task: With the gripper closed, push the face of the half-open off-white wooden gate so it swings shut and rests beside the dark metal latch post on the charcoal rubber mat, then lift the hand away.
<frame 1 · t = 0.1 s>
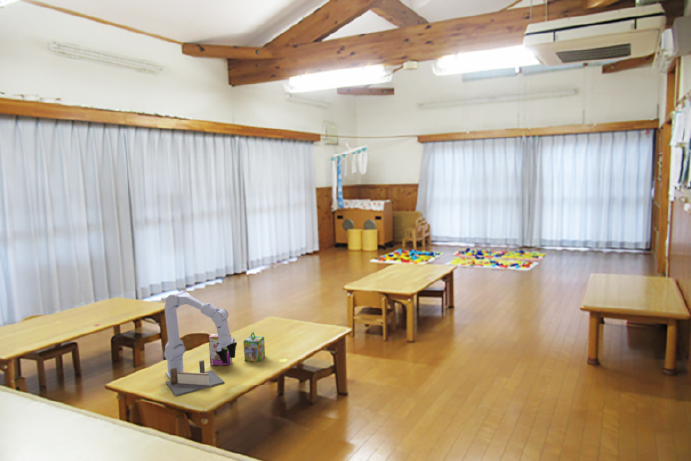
hand: (229, 360, 236), 10 cm above the table, tool pointing down, fingers open, 7 cm apart
gate: (193, 378, 231), point 4 cm above the table, hinge at 45.0°
gate posts: (174, 384, 234), resting on mat
candy bar box: (221, 364, 259), on the table
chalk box: (255, 359, 266), on the table
mat: (194, 383, 235), on the table
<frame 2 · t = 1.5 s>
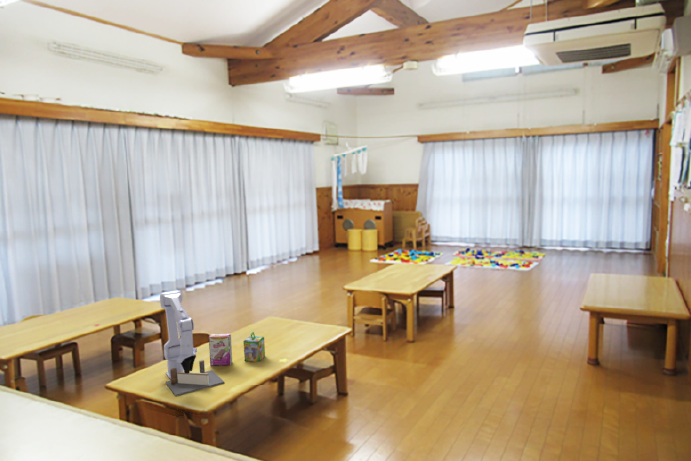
hand: (188, 371, 226), 9 cm above the table, tool pointing down, fingers closed
nothing on the table moved.
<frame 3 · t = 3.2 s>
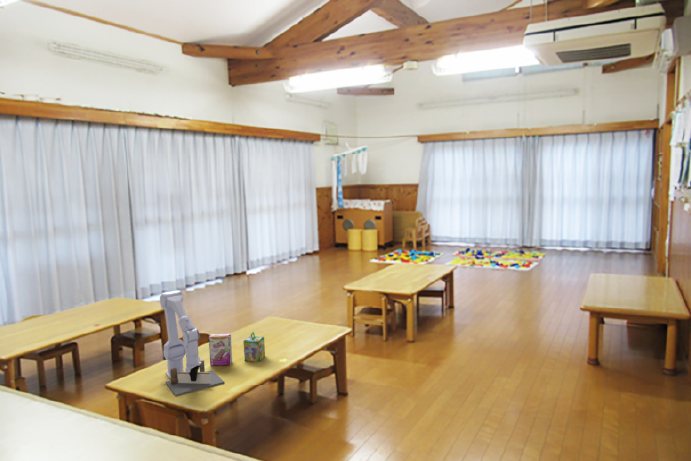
hand: (193, 381, 231), 3 cm above the table, tool pointing down, fingers closed
gate: (194, 377, 232), point 4 cm above the table, hinge at 39.7°, touching gripper
everything else where it was.
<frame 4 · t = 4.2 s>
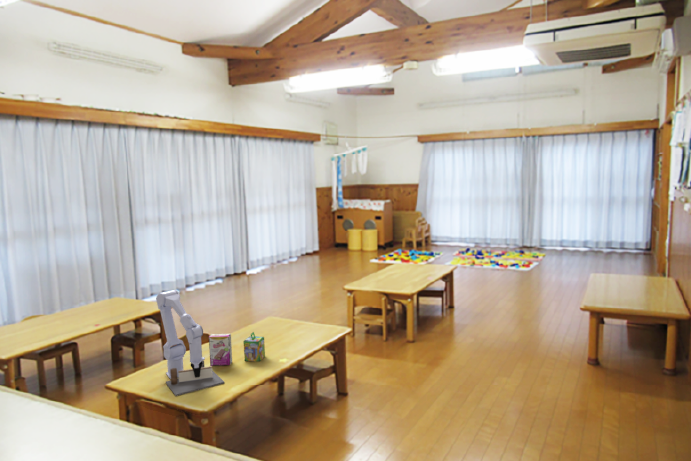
hand: (197, 376, 235), 3 cm above the table, tool pointing down, fingers closed
gate: (195, 374, 237), point 4 cm above the table, hinge at 15.5°, touching gripper
everything else where it was.
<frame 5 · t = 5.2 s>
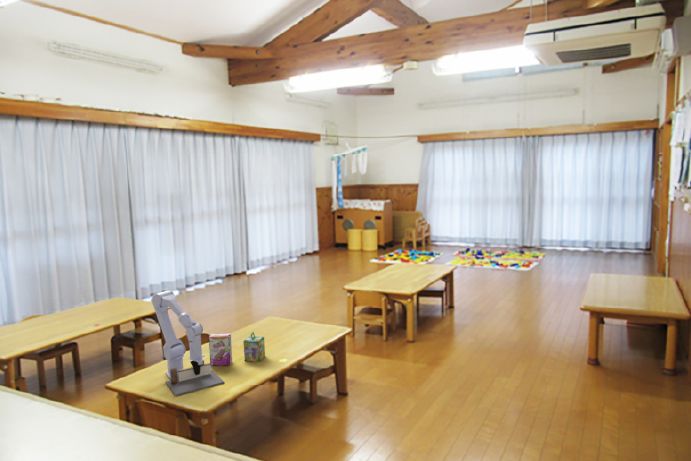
hand: (197, 374, 239), 3 cm above the table, tool pointing down, fingers closed
gate: (194, 372, 239), point 4 cm above the table, hinge at -0.7°, touching gripper
everything else where it was.
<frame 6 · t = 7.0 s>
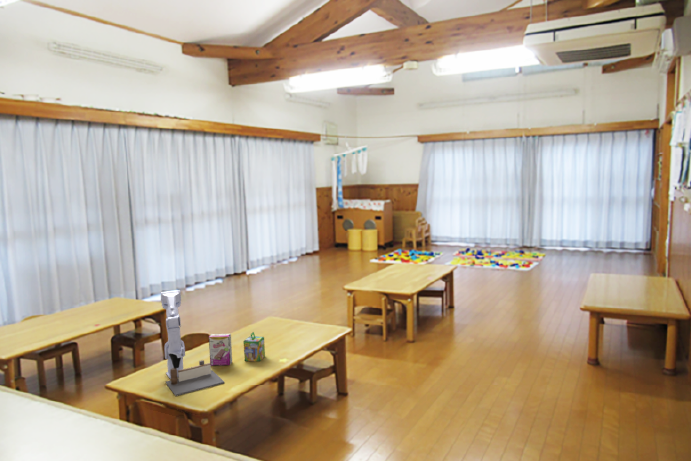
hand: (176, 367, 231), 9 cm above the table, tool pointing down, fingers closed
gate: (194, 372, 239), point 4 cm above the table, hinge at -0.7°
everything else where it was.
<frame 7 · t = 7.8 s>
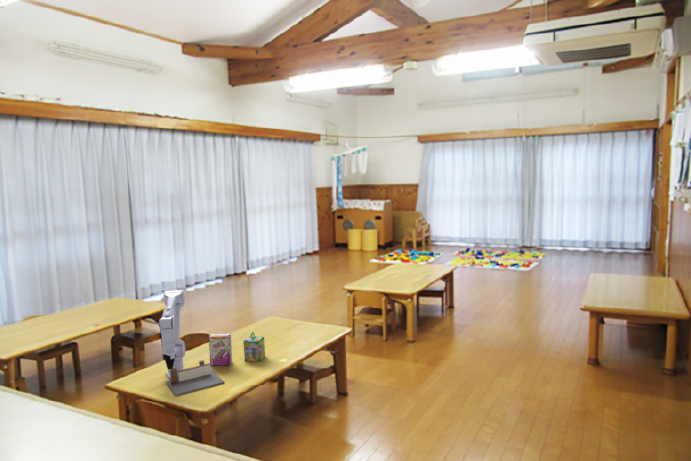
hand: (170, 368, 230), 9 cm above the table, tool pointing down, fingers closed
nothing on the table moved.
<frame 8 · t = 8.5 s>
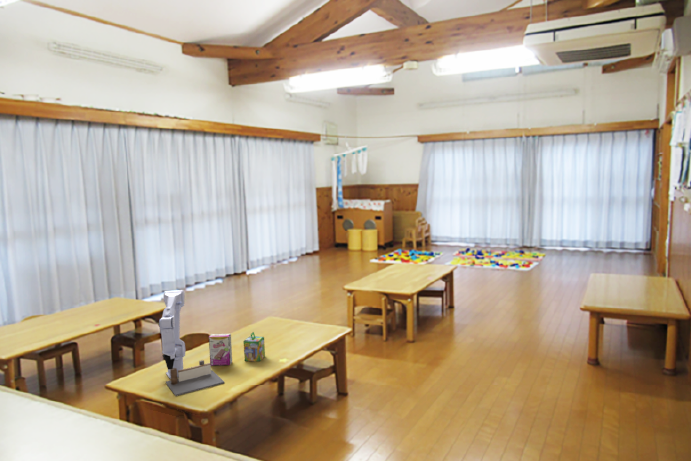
hand: (170, 368, 230), 9 cm above the table, tool pointing down, fingers closed
nothing on the table moved.
at the end: gate at -1° (first picture: +45°) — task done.
